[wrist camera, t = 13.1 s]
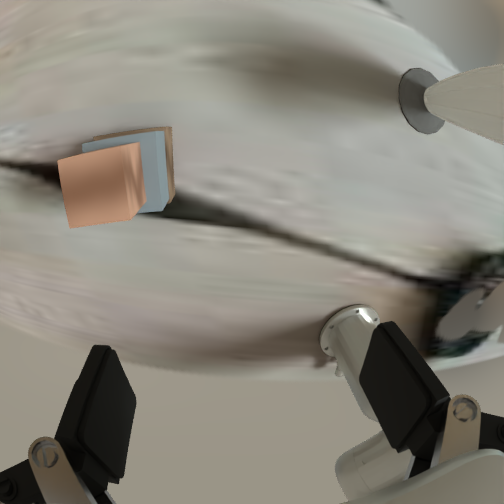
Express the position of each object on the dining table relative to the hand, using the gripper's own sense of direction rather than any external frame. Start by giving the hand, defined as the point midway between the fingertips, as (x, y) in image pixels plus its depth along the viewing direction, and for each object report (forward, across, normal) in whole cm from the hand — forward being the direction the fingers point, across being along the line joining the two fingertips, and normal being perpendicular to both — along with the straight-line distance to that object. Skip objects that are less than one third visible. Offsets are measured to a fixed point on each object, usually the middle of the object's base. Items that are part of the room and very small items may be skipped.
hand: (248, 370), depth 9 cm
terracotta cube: (+20, +11, -5) cm, 24 cm away
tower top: (+25, +11, -5) cm, 28 cm away
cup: (+31, -32, -16) cm, 47 cm away
